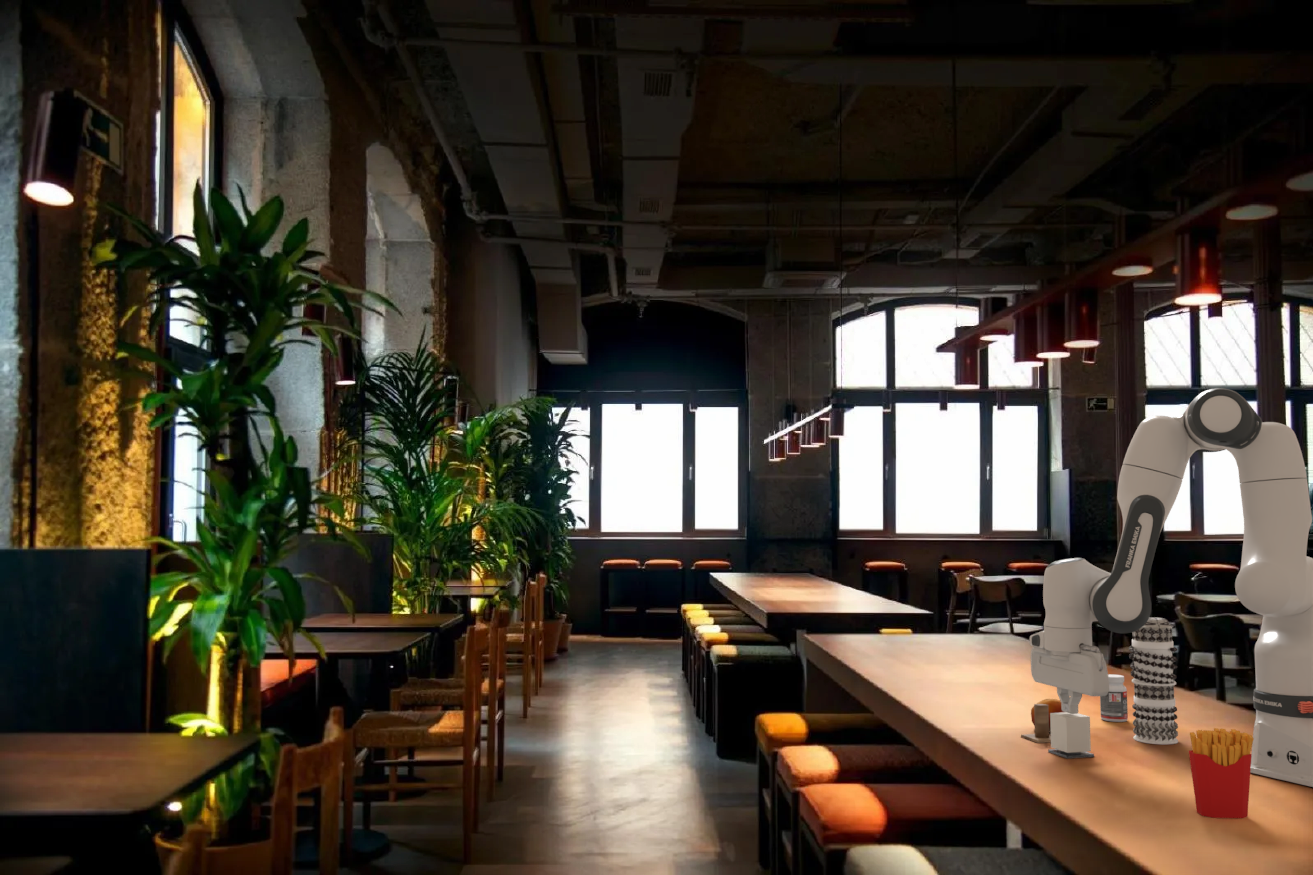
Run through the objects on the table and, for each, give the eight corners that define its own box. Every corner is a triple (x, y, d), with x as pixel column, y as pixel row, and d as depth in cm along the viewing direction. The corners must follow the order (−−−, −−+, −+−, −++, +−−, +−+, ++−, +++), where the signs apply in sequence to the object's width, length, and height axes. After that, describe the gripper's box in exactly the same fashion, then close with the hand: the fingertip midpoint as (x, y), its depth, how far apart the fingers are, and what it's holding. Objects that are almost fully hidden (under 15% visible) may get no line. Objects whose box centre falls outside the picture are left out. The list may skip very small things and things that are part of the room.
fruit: (1051, 730, 230) (1039, 694, 235) (1033, 743, 236) (1021, 708, 241) (1084, 728, 232) (1071, 692, 237) (1065, 741, 238) (1052, 706, 243)
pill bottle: (1130, 723, 245) (1129, 678, 246) (1103, 722, 247) (1102, 677, 247) (1124, 718, 251) (1123, 674, 252) (1098, 717, 252) (1097, 673, 253)
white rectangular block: (1090, 751, 212) (1089, 716, 213) (1067, 752, 211) (1066, 717, 211) (1074, 745, 217) (1073, 711, 218) (1051, 747, 216) (1050, 713, 216)
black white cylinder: (1155, 734, 233) (1151, 615, 235) (1190, 742, 224) (1186, 619, 226) (1121, 737, 230) (1117, 617, 231) (1156, 746, 221) (1152, 621, 223)
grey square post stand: (1094, 756, 212) (1093, 720, 212) (1066, 758, 210) (1065, 721, 211) (1074, 750, 218) (1073, 714, 218) (1048, 752, 216) (1047, 715, 217)
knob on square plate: (1063, 741, 226) (1062, 706, 227) (1037, 742, 225) (1037, 708, 225) (1046, 735, 232) (1045, 701, 232) (1021, 737, 230) (1020, 703, 231)
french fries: (1198, 817, 170) (1195, 732, 171) (1187, 810, 174) (1184, 727, 175) (1260, 819, 169) (1257, 733, 170) (1248, 811, 173) (1244, 727, 174)
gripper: (1116, 646, 206) (1118, 721, 205) (1051, 635, 226) (1053, 703, 225) (1087, 648, 205) (1089, 723, 204) (1024, 636, 224) (1026, 704, 223)
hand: (1070, 712), depth 214 cm, fingers closed
